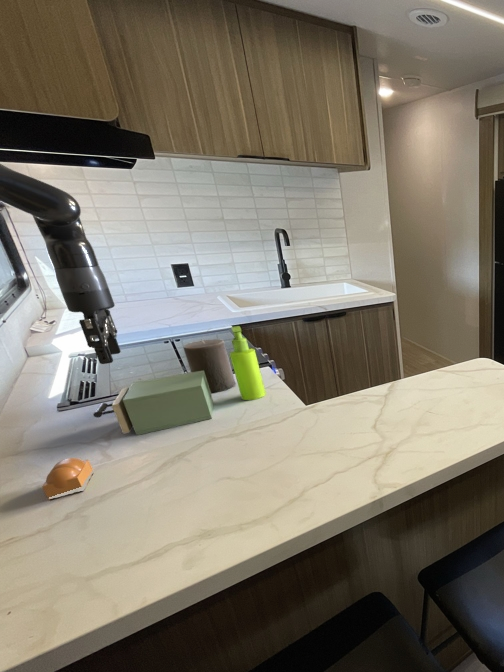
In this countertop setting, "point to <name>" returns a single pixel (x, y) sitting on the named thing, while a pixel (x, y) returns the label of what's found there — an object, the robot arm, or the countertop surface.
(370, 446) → the countertop surface
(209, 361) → the pillar candle
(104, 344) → the robot arm
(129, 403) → the cabinet
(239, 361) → the soap dispenser
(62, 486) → the orange domed block
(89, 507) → the countertop surface
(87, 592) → the countertop surface
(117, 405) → the drawer
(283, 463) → the countertop surface
